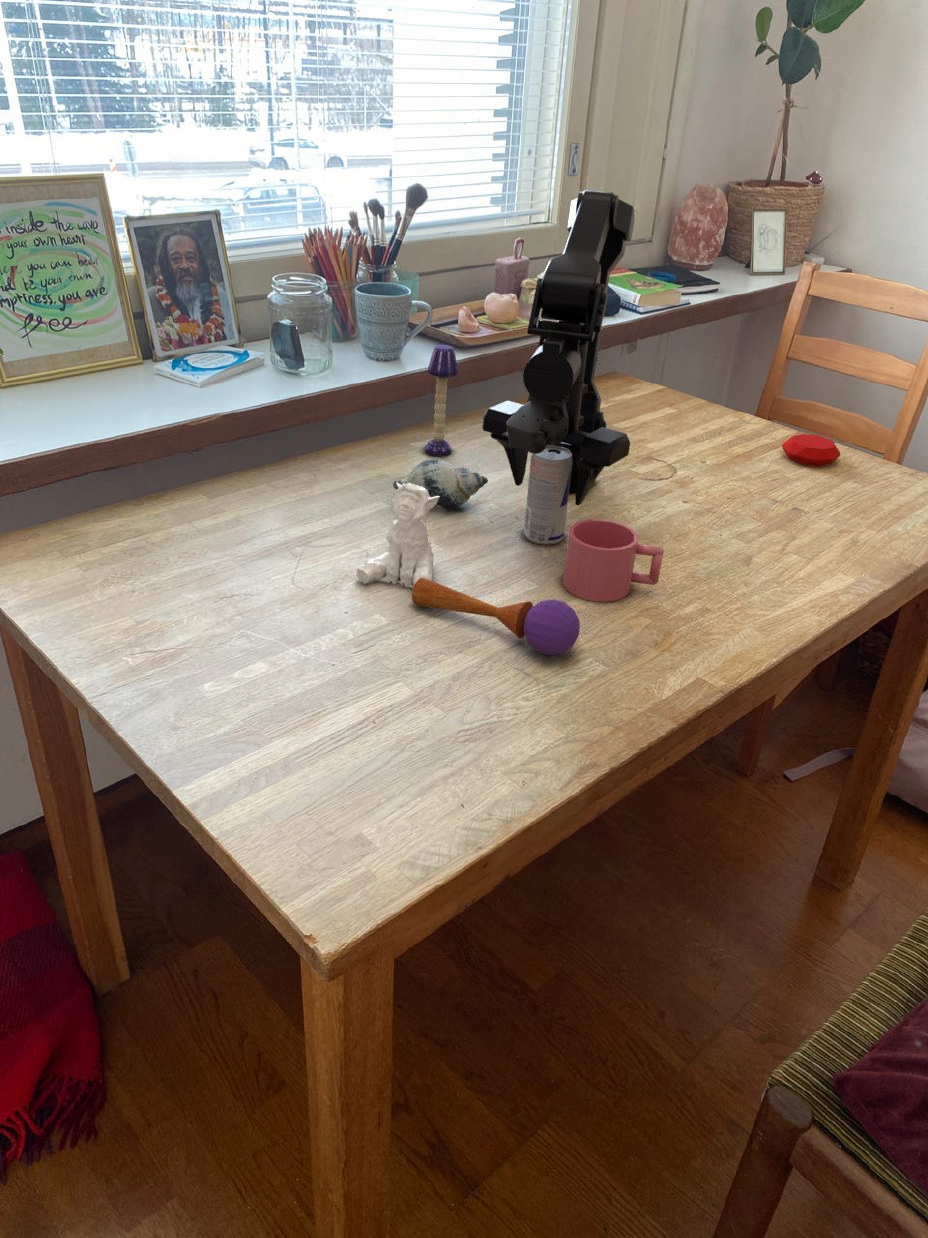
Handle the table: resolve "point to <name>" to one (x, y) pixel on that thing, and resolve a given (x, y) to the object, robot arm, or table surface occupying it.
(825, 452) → the gemstone
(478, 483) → the seashell
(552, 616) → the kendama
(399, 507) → the seated beast figurine
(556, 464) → the energy drink
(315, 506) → the table surface
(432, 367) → the toy lamp
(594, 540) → the mug
